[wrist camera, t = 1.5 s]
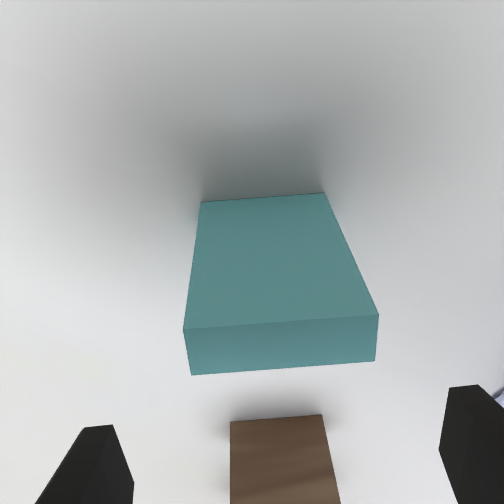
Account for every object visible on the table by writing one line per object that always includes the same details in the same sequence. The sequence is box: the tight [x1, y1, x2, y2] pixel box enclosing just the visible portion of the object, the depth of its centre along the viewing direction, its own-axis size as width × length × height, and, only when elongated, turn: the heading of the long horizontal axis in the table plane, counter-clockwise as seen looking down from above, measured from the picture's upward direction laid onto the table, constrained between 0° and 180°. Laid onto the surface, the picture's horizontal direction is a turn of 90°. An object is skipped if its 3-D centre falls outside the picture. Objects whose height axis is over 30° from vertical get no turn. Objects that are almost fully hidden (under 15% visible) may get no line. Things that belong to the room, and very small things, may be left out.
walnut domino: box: [230, 415, 341, 504], centre depth 22 cm, size 2×5×8 cm, turn 94°
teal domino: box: [183, 193, 379, 375], centre depth 16 cm, size 2×5×8 cm, turn 94°
